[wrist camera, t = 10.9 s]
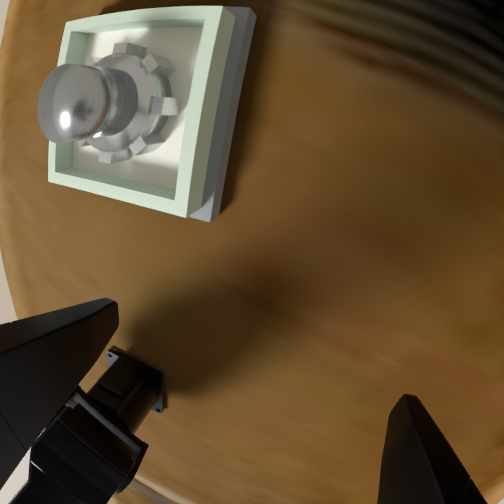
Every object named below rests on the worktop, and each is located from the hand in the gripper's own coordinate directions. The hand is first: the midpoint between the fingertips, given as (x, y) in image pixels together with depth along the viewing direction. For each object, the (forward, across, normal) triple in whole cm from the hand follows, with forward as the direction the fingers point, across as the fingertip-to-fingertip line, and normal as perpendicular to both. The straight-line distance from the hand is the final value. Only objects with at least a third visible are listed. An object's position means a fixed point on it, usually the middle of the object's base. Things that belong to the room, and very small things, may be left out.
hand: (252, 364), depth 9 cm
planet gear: (+10, +12, -6) cm, 17 cm away
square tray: (+12, +12, -6) cm, 18 cm away
